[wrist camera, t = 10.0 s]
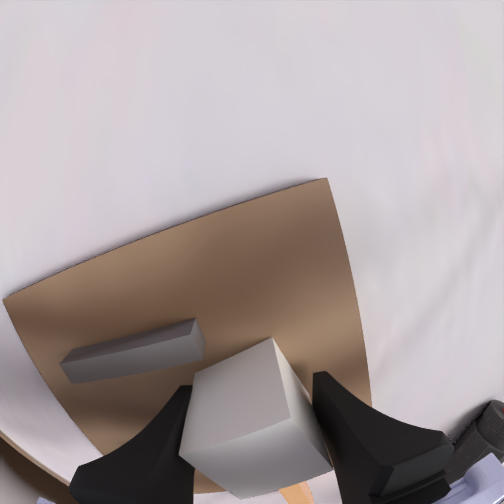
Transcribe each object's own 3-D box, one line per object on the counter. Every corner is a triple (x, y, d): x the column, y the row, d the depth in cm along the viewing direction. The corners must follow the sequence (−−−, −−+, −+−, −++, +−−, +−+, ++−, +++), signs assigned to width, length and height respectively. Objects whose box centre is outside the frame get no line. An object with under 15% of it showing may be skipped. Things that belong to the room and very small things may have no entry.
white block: (195, 373, 12) (178, 454, 7) (272, 336, 12) (290, 417, 7) (238, 422, 13) (240, 499, 8) (308, 393, 13) (333, 469, 8)
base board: (11, 294, 12) (-14, 308, 10) (320, 178, 12) (340, 176, 9) (146, 485, 16) (141, 507, 13) (370, 442, 15) (381, 465, 13)
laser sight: (346, 522, 20) (364, 579, 10) (479, 389, 16) (541, 453, 6) (399, 511, 21) (420, 558, 11) (513, 391, 17) (561, 436, 7)
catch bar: (264, 440, 13) (268, 474, 11) (284, 435, 13) (291, 468, 11) (296, 497, 15) (301, 521, 13) (311, 493, 15) (317, 517, 13)
